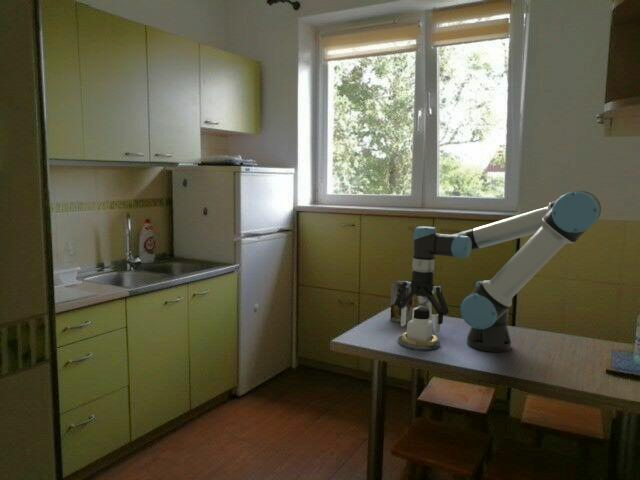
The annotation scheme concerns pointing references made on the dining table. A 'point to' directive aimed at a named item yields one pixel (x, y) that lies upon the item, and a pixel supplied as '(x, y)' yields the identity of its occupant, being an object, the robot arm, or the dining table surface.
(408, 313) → the coffee box
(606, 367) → the dining table surface
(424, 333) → the medicine bottle
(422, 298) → the plastic bottle
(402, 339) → the ring
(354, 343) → the dining table surface
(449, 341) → the dining table surface
